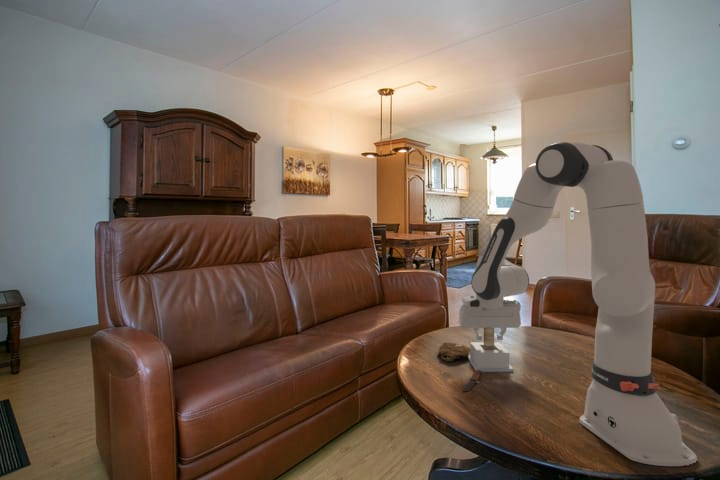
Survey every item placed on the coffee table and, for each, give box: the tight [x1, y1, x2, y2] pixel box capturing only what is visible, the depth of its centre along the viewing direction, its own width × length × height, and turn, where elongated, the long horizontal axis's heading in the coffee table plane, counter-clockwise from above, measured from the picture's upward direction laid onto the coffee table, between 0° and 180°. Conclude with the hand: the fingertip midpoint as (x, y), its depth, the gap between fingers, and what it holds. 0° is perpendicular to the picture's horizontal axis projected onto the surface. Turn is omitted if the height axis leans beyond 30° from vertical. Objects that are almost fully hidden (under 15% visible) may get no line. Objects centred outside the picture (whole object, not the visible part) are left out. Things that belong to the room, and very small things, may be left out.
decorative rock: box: [437, 342, 470, 362], centre depth 133 cm, size 11×4×15 cm
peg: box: [483, 328, 495, 350], centre depth 125 cm, size 3×3×12 cm
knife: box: [461, 370, 483, 393], centre depth 112 cm, size 17×1×3 cm
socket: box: [466, 341, 514, 373], centre depth 125 cm, size 12×12×6 cm
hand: (489, 339), depth 125 cm, fingers open, 6 cm apart
